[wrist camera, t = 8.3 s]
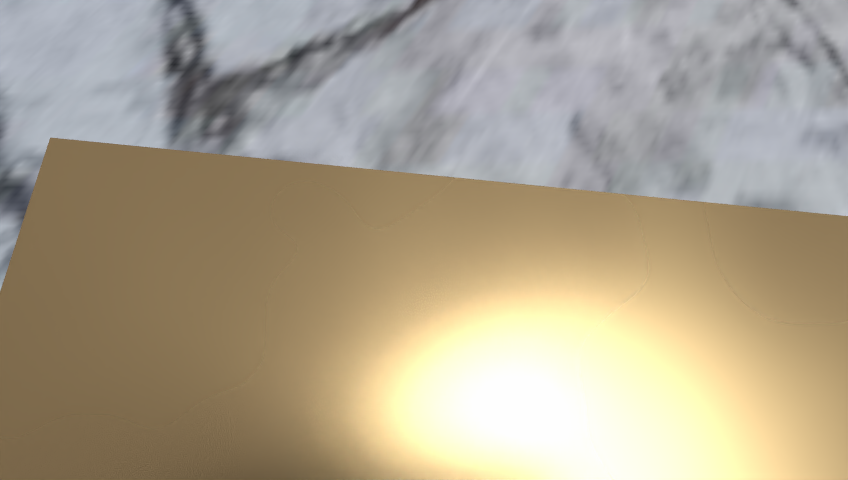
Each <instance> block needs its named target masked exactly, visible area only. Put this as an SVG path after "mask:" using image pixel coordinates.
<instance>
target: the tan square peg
mask: <svg viewBox="0 0 848 480" xmlns="http://www.w3.org/2000/svg"><path fill="white" fill-rule="evenodd" d="M0 480H848V216H839V215H829V214H819V213H809V212H799V211H789V210H778V209H768V208H758V207H748V206H738V205H728V204H718V203H707V202H697V201H687V200H677V199H667V198H657V197H647V196H636V195H626V194H616V193H606V192H596V191H586V190H576V189H565V188H555V187H545V186H535V185H525V184H515V183H505V182H494V181H484V180H474V179H464V178H454V177H444V176H434V175H423V174H413V173H403V172H393V171H383V170H373V169H363V168H352V167H342V166H332V165H322V164H312V163H302V162H292V161H281V160H271V159H261V158H251V157H241V156H231V155H221V154H210V153H200V152H190V151H180V150H170V149H160V148H150V147H139V146H129V145H119V144H109V143H99V142H89V141H79V140H68V139H58V138H50V140H49V143H48V146H47V150H46V153H45V156H44V159H43V162H42V165H41V168H40V171H39V174H38V177H37V180H36V183H35V186H34V190H33V193H32V196H31V199H30V202H29V205H28V208H27V211H26V214H25V217H24V220H23V223H22V227H21V230H20V233H19V236H18V239H17V242H16V245H15V248H14V251H13V254H12V257H11V260H10V263H9V267H8V270H7V273H6V276H5V279H4V282H3V285H2V288H1V291H0Z"/></svg>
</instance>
